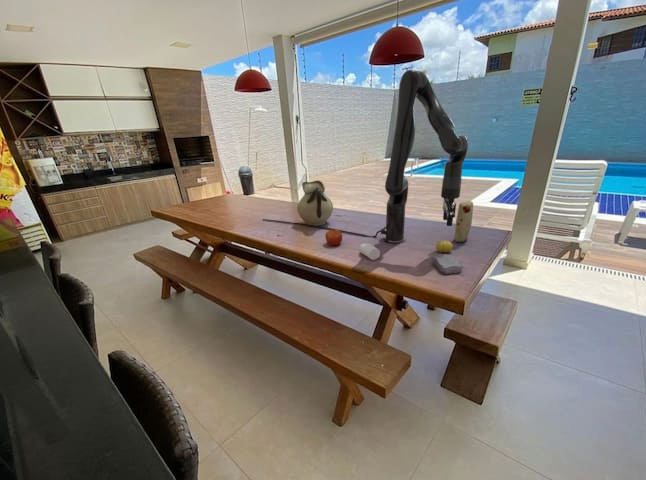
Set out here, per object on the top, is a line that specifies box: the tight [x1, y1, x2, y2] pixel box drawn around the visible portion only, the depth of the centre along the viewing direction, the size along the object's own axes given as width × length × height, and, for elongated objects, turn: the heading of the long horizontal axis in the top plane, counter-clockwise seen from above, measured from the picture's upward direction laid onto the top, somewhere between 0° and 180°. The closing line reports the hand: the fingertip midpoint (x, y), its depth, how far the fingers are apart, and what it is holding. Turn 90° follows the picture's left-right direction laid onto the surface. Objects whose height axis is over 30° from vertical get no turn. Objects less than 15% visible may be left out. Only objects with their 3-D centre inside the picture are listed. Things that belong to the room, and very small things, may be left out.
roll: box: [359, 243, 381, 261], centre depth 144 cm, size 6×12×6 cm, turn 22°
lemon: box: [435, 240, 454, 253], centre depth 143 cm, size 8×5×5 cm
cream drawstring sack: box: [296, 180, 334, 227], centre depth 188 cm, size 22×24×25 cm
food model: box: [454, 200, 474, 243], centre depth 151 cm, size 10×7×20 cm
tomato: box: [324, 228, 343, 246], centre depth 159 cm, size 9×9×8 cm
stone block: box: [432, 253, 464, 275], centre depth 128 cm, size 12×5×10 cm
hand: (447, 222), depth 138 cm, fingers open, 8 cm apart
